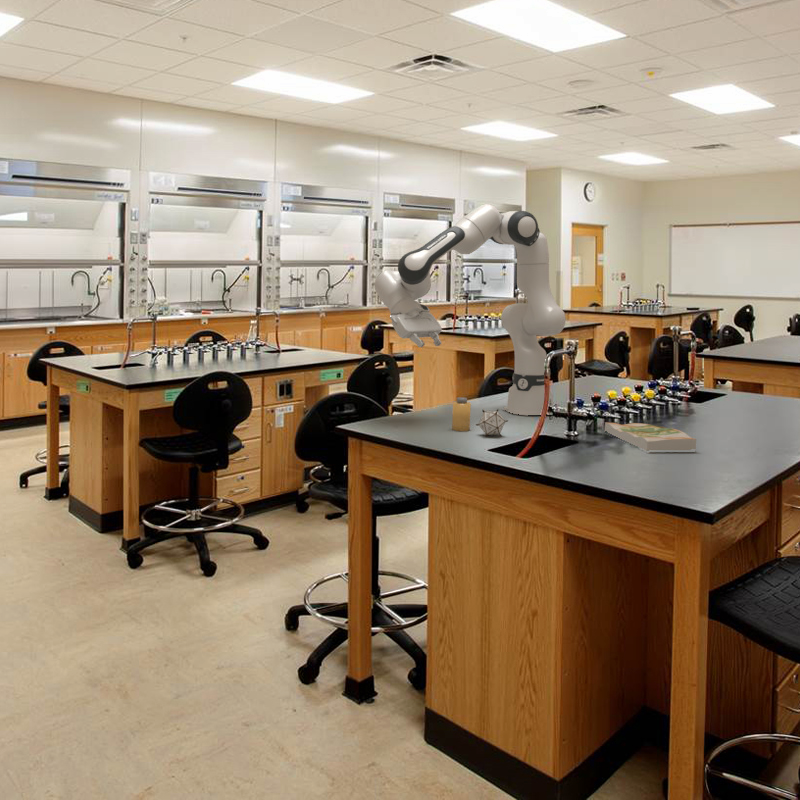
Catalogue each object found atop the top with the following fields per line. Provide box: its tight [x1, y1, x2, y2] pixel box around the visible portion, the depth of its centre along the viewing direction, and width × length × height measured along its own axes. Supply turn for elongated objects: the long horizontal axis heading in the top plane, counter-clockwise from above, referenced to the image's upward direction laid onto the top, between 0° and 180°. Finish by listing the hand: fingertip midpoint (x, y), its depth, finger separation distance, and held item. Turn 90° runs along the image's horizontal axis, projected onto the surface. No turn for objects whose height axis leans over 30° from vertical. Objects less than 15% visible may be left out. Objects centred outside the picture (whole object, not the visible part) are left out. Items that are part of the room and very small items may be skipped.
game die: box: [475, 408, 509, 438], centre depth 238 cm, size 9×8×10 cm
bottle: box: [451, 397, 472, 432], centre depth 247 cm, size 6×6×10 cm
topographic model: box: [604, 422, 697, 451], centre depth 235 cm, size 30×14×5 cm, turn 8°
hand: (430, 345), depth 251 cm, fingers open, 8 cm apart
